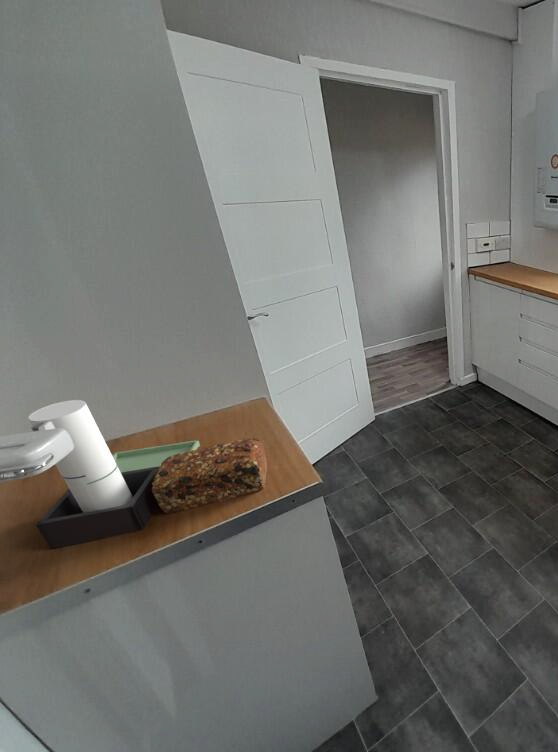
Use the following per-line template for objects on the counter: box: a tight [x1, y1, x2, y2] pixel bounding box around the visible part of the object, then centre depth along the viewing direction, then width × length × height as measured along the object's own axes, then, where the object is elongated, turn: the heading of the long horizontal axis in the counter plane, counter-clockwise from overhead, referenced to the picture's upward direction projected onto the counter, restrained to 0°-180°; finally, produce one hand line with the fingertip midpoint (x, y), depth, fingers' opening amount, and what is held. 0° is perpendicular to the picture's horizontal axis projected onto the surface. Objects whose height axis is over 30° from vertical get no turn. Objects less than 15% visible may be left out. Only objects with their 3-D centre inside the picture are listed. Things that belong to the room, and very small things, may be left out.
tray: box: [112, 439, 201, 472], centre depth 96 cm, size 17×15×2 cm
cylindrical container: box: [27, 399, 134, 513], centre depth 78 cm, size 7×7×25 cm
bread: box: [152, 437, 268, 515], centre depth 88 cm, size 19×11×10 cm, turn 114°
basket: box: [35, 466, 160, 550], centre depth 82 cm, size 14×13×6 cm
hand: (6, 431), depth 61 cm, fingers open, 8 cm apart
